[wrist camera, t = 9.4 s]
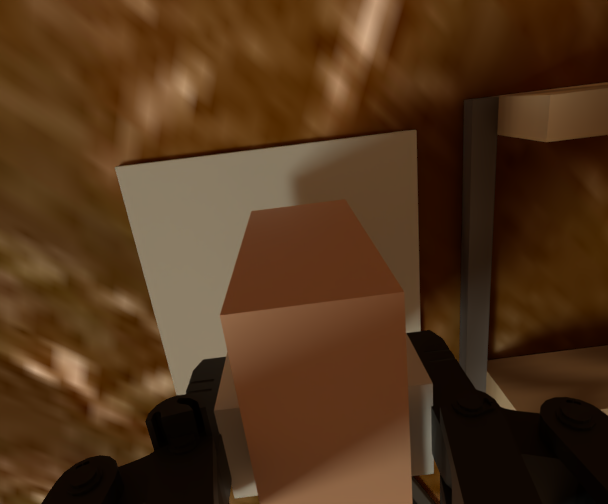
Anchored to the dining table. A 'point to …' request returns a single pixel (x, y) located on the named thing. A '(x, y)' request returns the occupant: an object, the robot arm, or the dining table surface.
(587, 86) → the rectangular frame
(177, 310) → the mat
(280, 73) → the dining table surface
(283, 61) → the dining table surface
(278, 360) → the peach rectangular prism
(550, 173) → the dining table surface
